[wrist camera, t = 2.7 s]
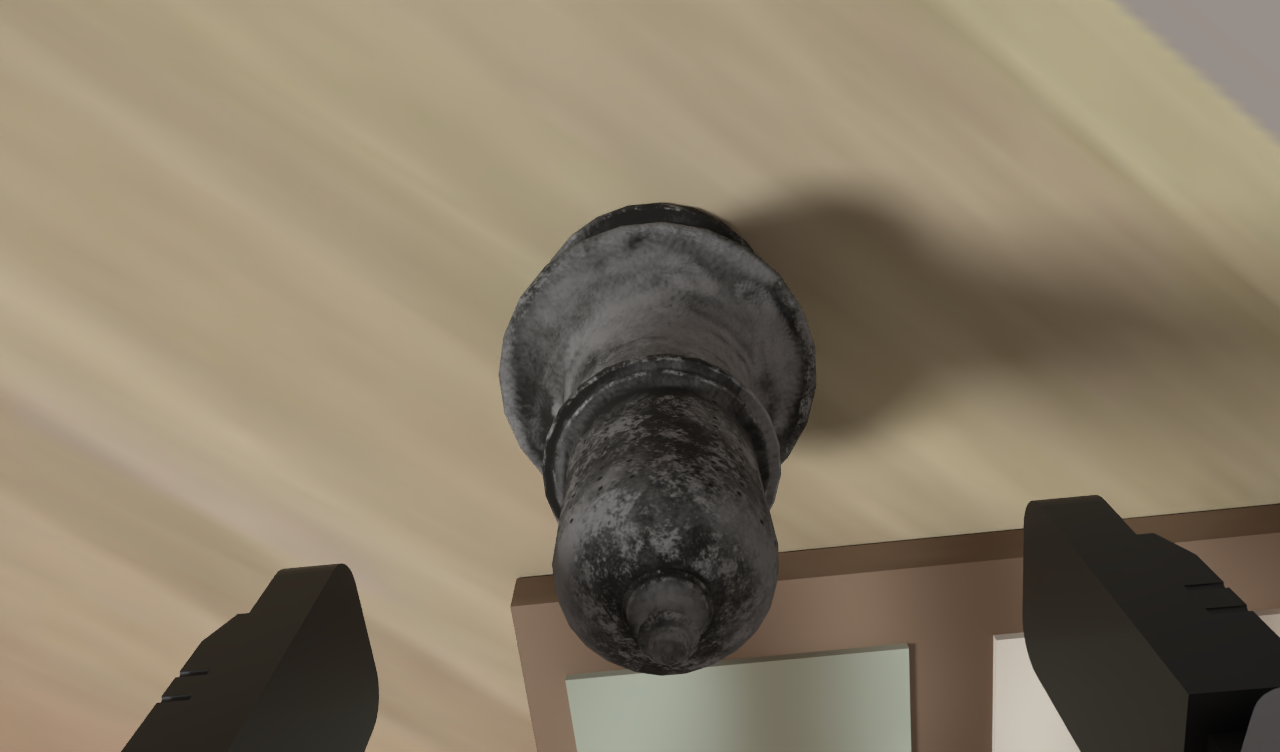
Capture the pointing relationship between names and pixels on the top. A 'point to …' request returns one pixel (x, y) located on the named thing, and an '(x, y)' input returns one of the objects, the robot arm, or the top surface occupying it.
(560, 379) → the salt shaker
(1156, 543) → the robot arm
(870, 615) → the board
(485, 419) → the top surface
